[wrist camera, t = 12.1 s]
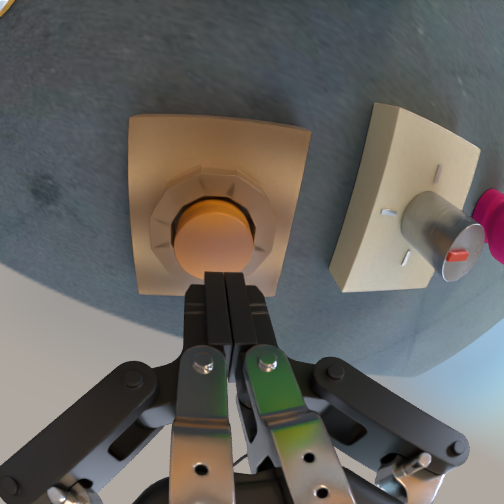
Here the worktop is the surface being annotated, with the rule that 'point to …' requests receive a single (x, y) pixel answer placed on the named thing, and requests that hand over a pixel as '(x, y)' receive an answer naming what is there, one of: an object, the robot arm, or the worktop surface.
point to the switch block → (211, 189)
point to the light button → (213, 238)
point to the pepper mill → (492, 221)
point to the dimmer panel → (397, 198)
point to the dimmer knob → (442, 235)
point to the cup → (5, 6)
